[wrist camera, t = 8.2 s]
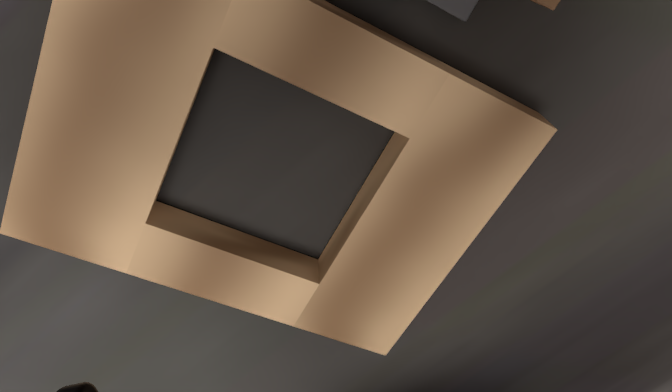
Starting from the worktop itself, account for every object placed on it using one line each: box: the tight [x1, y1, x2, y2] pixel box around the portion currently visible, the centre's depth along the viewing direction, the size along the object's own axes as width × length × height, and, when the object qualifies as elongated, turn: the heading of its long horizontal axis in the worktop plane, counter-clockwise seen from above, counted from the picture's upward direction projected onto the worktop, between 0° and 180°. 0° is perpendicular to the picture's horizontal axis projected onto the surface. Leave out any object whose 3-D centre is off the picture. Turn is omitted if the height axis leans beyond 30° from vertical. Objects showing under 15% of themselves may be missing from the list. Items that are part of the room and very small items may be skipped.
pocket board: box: [0, 0, 557, 356], centre depth 19 cm, size 16×12×2 cm
